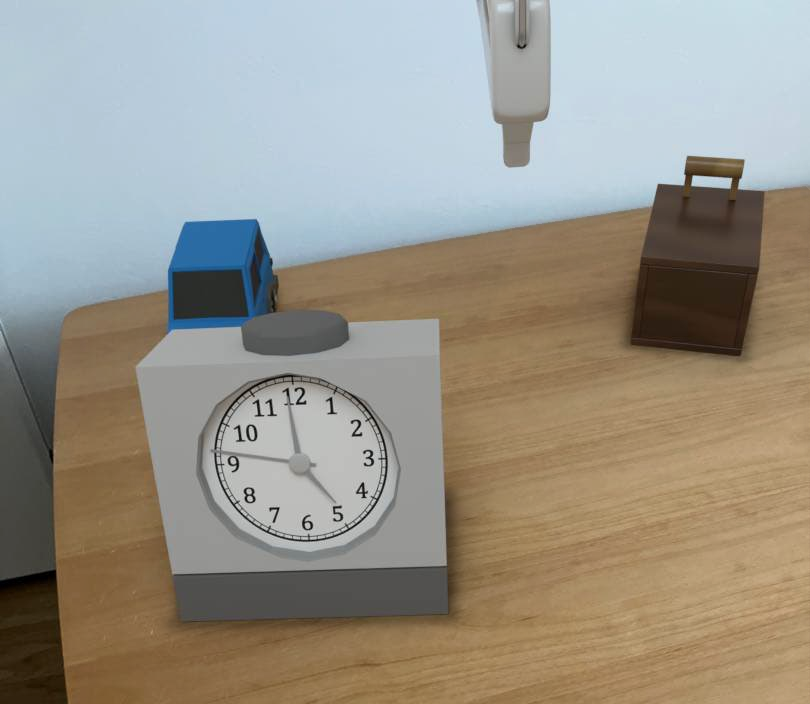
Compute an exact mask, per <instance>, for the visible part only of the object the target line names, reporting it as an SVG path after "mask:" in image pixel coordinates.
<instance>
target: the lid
mask: <svg viewBox="0 0 810 704" xmlns="http://www.w3.org/2000/svg"><path fill="white" fill-rule="evenodd" d="M745 160H746V159H744V158H732V157H717V156H716V157H715V156H713V157H712V156H700V155H686V159H685V163H684V172H683V175H684V176H685V177H684V182H683V185H682V184H668V183H657V186H656V191H655V195H654V198H653V203H652V207H651V211H650V216H649V220H648V224H647V227H646V228H647V229H646V234H645V237H644V241H643V246H642V250H641V255H640V261H639V265H640V264H646V265H657V266H669V267H680V268H691V269H702V270H713V271H724V272H736V273H747V274H758V275H759V272H760V265H761V251H762V235H763V222H764V221H763V220H764V206H765V190H757V189H756V190H755V189H754V190H753V189H740V188H739V185H740V180H741V179H742V177H743V173H744V169H745V168H744V167H745V162H746V161H745ZM693 176H694V177H709V178H721V179H722V178H723V179H731V182H730V187H729V188H728V187H727V188H725V187H712V186H699V185H692V184H693V178H694V177H693Z"/></svg>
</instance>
